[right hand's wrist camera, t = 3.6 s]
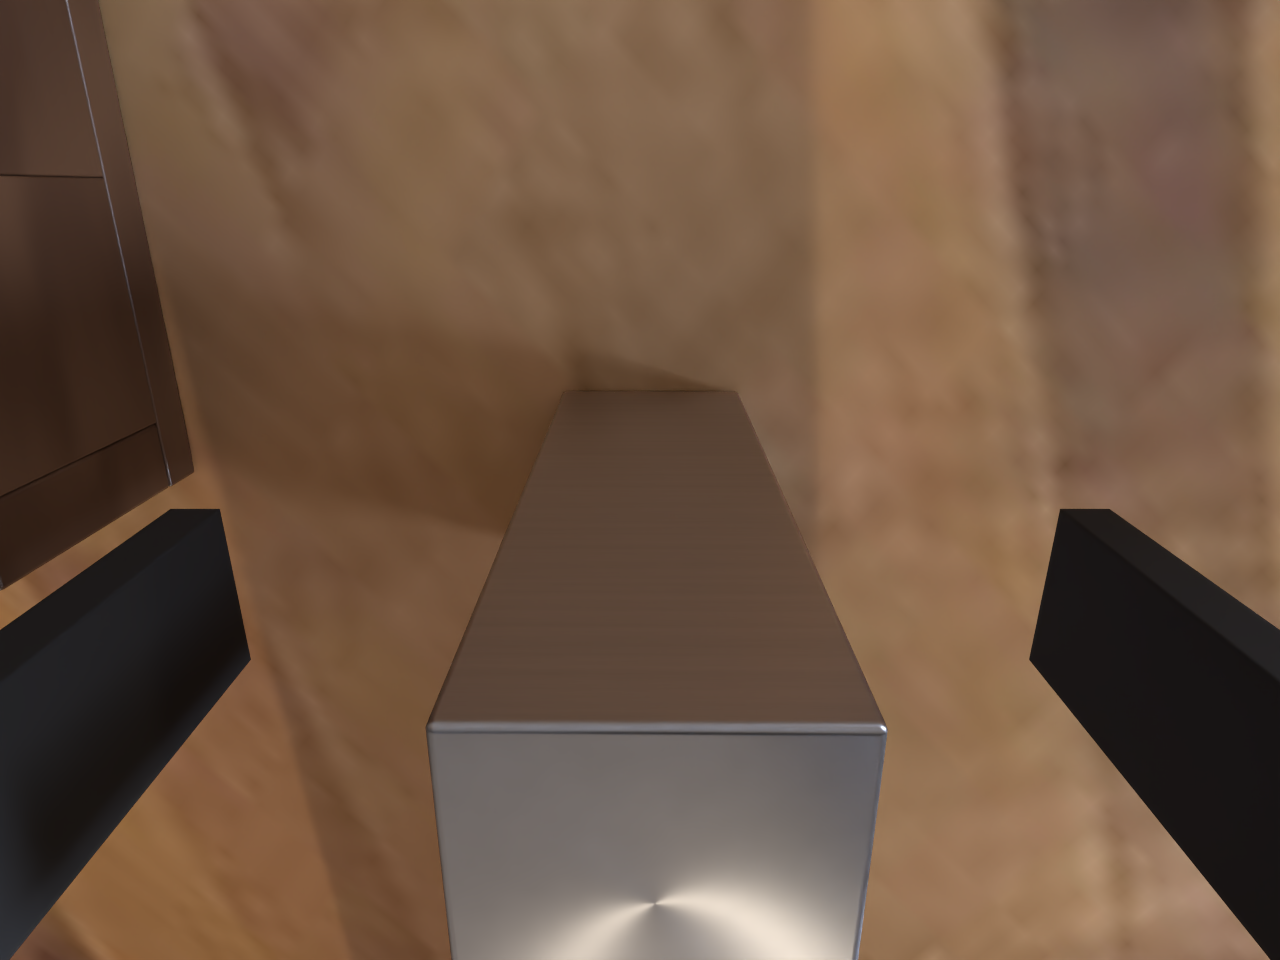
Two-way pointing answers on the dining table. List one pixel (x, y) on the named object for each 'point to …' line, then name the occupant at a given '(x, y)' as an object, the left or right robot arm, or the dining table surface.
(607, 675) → the peg
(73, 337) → the socket block
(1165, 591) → the right robot arm
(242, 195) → the dining table surface
